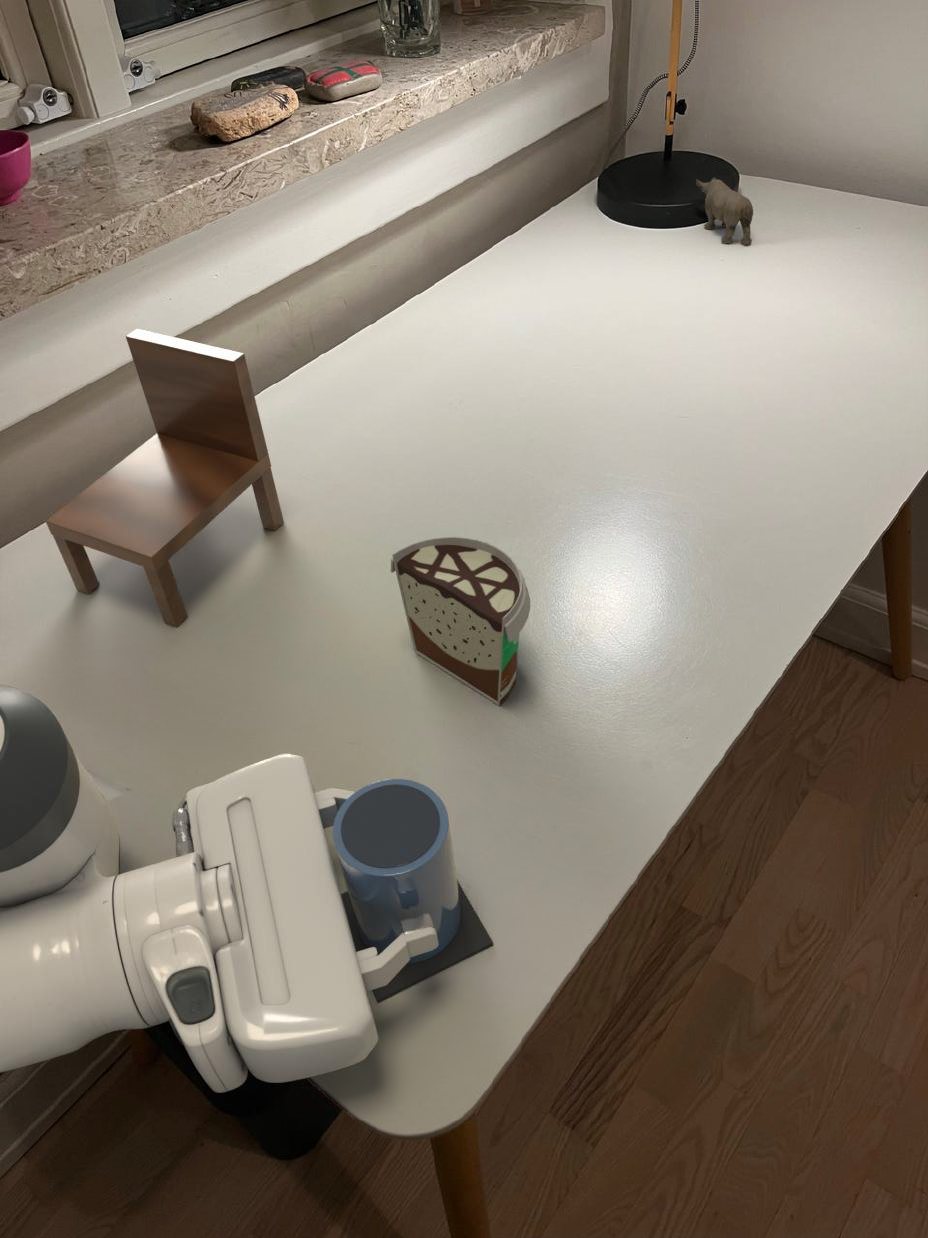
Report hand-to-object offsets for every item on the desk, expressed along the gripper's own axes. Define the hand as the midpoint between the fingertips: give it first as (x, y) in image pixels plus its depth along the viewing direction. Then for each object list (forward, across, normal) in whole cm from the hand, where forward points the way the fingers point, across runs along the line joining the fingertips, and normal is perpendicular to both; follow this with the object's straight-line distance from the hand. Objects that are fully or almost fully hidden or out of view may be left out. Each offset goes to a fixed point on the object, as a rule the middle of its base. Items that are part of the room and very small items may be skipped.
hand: (412, 863), depth 63 cm
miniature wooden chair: (-11, -44, -6) cm, 46 cm away
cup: (-1, 0, -6) cm, 6 cm away
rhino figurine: (+66, -86, -7) cm, 109 cm away
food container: (+11, -21, -6) cm, 24 cm away
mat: (-1, 0, -6) cm, 6 cm away
